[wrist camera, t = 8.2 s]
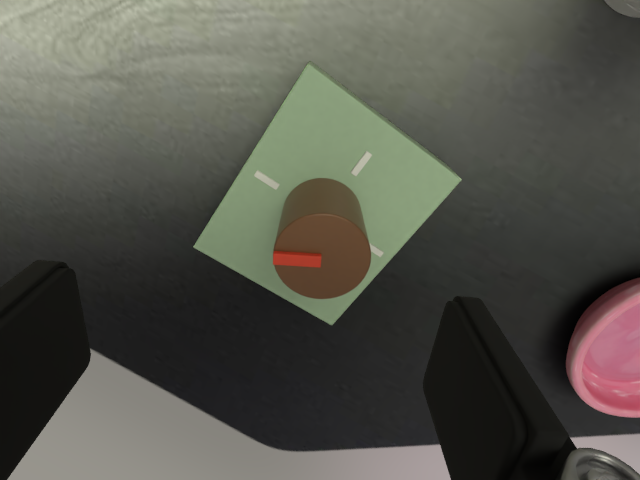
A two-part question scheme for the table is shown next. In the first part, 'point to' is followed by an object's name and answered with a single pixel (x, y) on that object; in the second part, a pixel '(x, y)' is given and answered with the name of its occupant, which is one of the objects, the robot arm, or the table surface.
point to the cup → (625, 7)
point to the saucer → (608, 352)
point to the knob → (321, 240)
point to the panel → (333, 163)
